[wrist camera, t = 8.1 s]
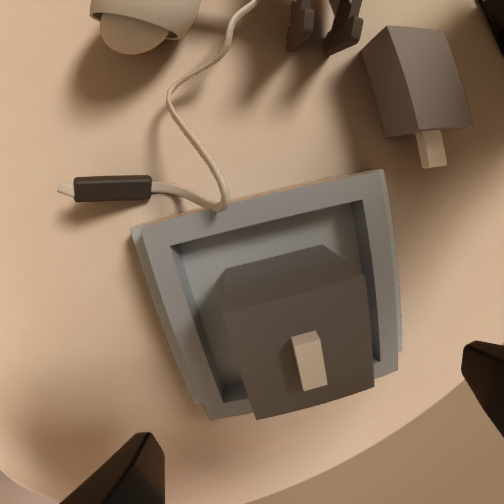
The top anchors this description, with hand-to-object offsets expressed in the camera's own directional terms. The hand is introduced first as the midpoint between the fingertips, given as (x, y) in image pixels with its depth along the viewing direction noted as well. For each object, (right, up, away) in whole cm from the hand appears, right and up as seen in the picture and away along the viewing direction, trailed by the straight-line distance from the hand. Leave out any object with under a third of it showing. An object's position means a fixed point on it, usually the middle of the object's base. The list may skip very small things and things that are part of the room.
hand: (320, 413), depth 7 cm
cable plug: (+6, +13, +7) cm, 16 cm away
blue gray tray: (0, +2, +9) cm, 9 cm away
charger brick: (0, +2, +7) cm, 8 cm away
